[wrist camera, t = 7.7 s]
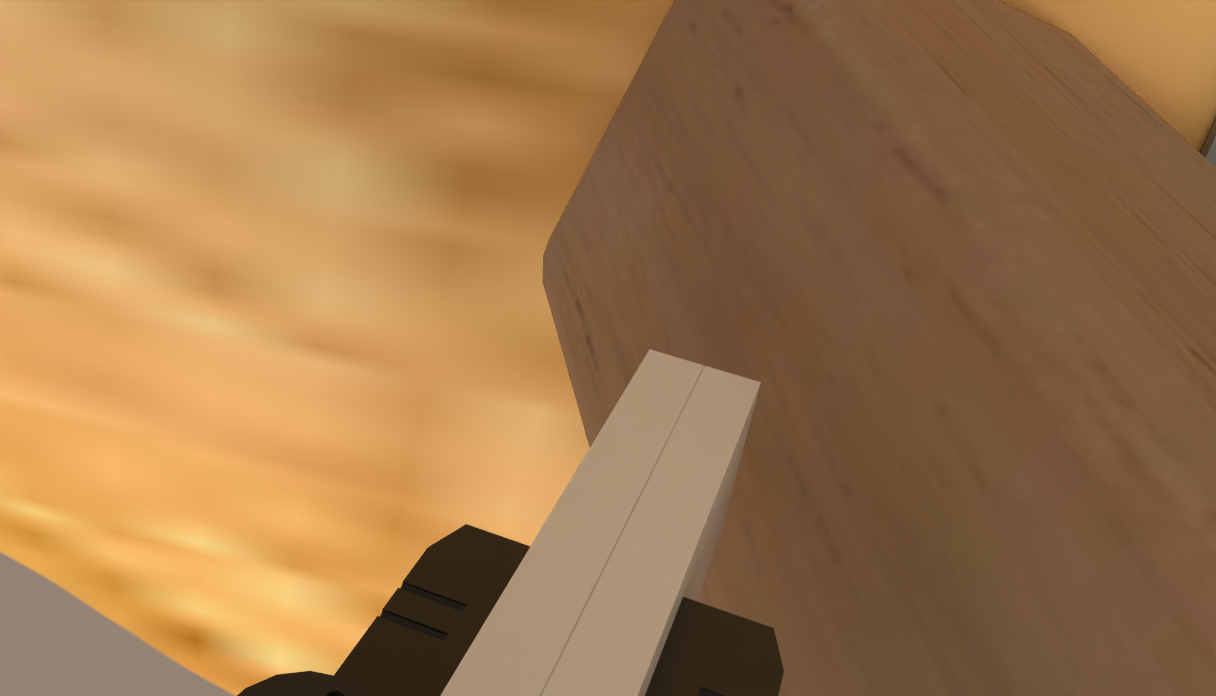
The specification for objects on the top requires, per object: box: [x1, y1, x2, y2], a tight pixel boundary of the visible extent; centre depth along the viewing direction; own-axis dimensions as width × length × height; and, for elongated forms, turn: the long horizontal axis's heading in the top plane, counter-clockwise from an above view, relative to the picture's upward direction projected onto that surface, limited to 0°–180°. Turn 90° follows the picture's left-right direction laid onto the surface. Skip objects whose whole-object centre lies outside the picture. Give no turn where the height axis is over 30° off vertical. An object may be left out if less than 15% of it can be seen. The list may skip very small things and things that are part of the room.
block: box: [543, 0, 1216, 696], centre depth 18 cm, size 10×10×20 cm
